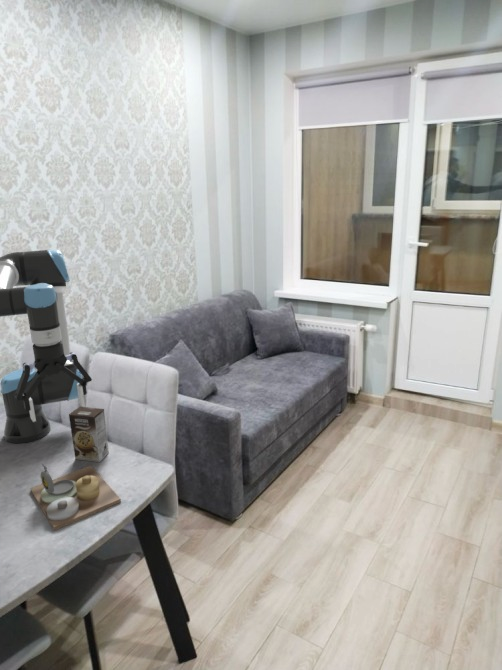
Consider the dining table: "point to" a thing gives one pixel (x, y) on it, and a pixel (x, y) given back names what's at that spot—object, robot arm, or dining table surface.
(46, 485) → the pocket watch
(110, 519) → the dining table surface
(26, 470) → the dining table surface
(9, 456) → the dining table surface
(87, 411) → the coffee box
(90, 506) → the tray
